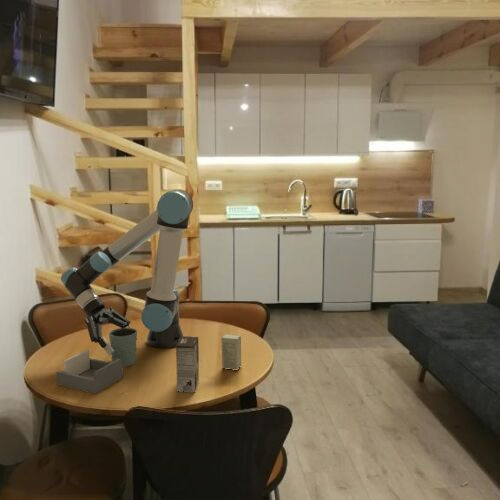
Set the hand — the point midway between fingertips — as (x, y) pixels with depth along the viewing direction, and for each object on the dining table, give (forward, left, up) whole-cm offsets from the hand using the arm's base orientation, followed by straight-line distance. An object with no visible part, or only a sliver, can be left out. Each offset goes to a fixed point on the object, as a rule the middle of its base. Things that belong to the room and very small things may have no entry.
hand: (123, 347), depth 180 cm
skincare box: (-39, +10, -6) cm, 41 cm away
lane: (+10, +15, -6) cm, 19 cm away
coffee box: (-23, +24, -6) cm, 34 cm away
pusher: (+15, +11, -5) cm, 19 cm away
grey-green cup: (0, 0, -6) cm, 6 cm away
